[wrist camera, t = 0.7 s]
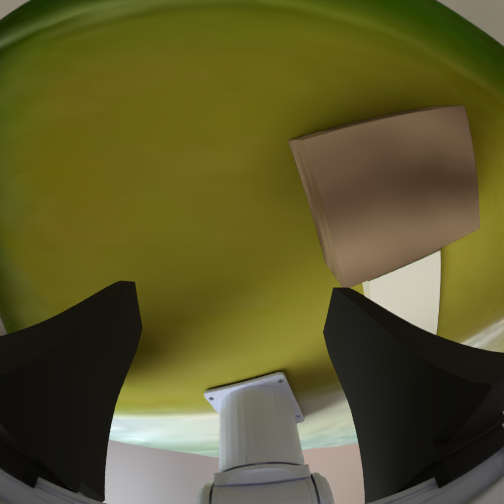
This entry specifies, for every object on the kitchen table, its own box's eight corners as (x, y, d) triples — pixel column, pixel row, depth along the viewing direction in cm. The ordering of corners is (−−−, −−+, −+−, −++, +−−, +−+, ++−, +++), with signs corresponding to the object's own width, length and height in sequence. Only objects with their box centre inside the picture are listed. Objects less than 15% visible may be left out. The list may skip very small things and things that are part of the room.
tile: (425, 339, 25) (434, 350, 23) (370, 365, 25) (377, 378, 23) (427, 241, 20) (440, 250, 18) (358, 269, 21) (368, 281, 19)
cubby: (448, 213, 19) (479, 228, 15) (325, 262, 20) (344, 290, 16) (430, 106, 16) (464, 105, 12) (288, 140, 16) (303, 139, 13)
